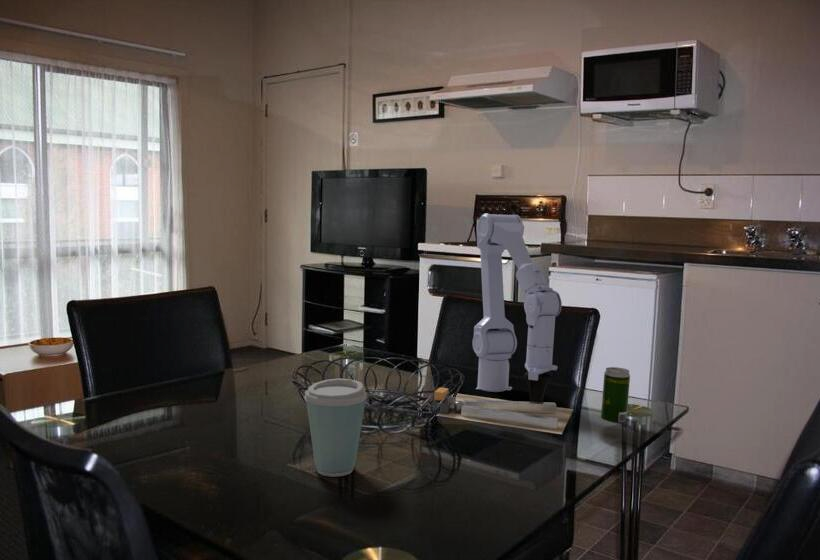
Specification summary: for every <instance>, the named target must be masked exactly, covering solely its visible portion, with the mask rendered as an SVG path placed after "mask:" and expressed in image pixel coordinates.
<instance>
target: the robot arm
mask: <svg viewBox="0 0 820 560" xmlns="http://www.w3.org/2000/svg"><path fill="white" fill-rule="evenodd" d="M524 233H525V225H524V223H523V220H522V218H521V217H520V216H519V215H518V214H494V213H493V214H491V213H483V214H482V215H481V216H480V217H479V220H478V221H477V224H476V245H477V248H478V249H479V250H480V251H479V253H480V270H481V292H482V308H483V309H482V310H483V318H482V319H481V320H479V322H477V324H475V325H474V326H473V338H472V341H471V342H472V349H473V351H474V353H475V354H476V357H478V369H477V371H478V373H477V385H476V386H477V387H476V388H475V390H481V391H485V392H491V393H492V392H493V393H499V392H504V391H511V390H512V389H513V387H512V386H509V377H510V376H509V375H510V362H509V359H512V355H513V354H514V353H515V352H516V350H517V347H518V340H517V337H516V334H515V328H514V324H513V323H512V322H510V320H508V319H507V318H506V314H505V297H504V296H505V294H504V277H503V276H504V275H503V272H504V271H503V256H502V255H503V253H504V251H506V250H507V252H508V254H509V255H510V258H511V259H512V261H513V262H514V264H515V266H516V268H517V270H516V273H515V277H516V280H517V282H518V284H519V286H520V288H521V291H522V294H523V295H524V297H525V298H524V299H525V301H524V302H523V308H524V312H525V315H526V318H525V320H526V324H527V325H528V328H527V343H526V344H527V345H526V357H525V358H526V359H525V363H524V368H525V369H526V370H527V371H526V372H525V373H524V375H523V376H524V380H525V382H526V384H527V388H528V393H529V400H530V401H529V402H544V401H543V400H544V396H545V393H546V390H547V389H546V388H547V386H548V383H549V381H550V379H551V377H552V376H553V373H552V372H550V371H557V370H558V365H555V364H553V356H554V355H553V352H554V341H555V326H556V325H555V324H556V317H559V315H560V313H561V311H562V299H561V295H560V293H559V292H558V291H556V290H554V289H553V288H552V287H550V286H549V284H548V282H547V280H546V278H545V275H544V274H543V271H542V270H541V267H540V266H539V265H538V264H536V263H533V261H532V258H531V256H530V253H529V251H528V249H527V246H526V243H525V240H524V238H523V237H524ZM492 329H496V330H492ZM497 329H498V330H497Z"/></svg>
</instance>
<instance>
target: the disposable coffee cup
mask: <svg viewBox="0 0 820 560" xmlns="http://www.w3.org/2000/svg"><path fill="white" fill-rule="evenodd" d="M367 395H368V394H367V392H366V391H365V387H364V384H363V383H362V381H358V380H355V379H349V378H331V379H324V380H322V381H321V380H320V381H317V382H314V383H313V384H311V385H310V386H308V387H307V390H305V392H304V396H303V397H304V401H305V402H306V408H307V415H308V422H309V429H310V430H309V432H310V436H311V437H310V438H311V446H312V451H313V460H314V465H315V466H314V467H315V469H316V472H317V474H318V475H319V474H320V475H322V476H325V477H331V478H333V477H334V478H335V477H343V476H347V475H350V474H351V473H352V472H353V471H354V469H355V466H356V462H357V457H358V449H359V444H360V437H361V431H362V423H363V419H364V412H365V406H366V400H367V399H368V396H367Z"/></svg>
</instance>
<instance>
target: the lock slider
mask: <svg viewBox="0 0 820 560" xmlns="http://www.w3.org/2000/svg"><path fill="white" fill-rule="evenodd" d="M447 393H448V394H449V388H447V387H438V388H437V389H436V390H435V391H434V394H433V397H434V398H433V401H434V400H440V401H441V400H442V399H443V398H444V397H445V396H446V394H447ZM448 396H449V395H448ZM448 396H447V397H448ZM447 397H446V398H447ZM446 398H445V399H446ZM445 399H444V400H445Z"/></svg>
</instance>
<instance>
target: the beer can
mask: <svg viewBox="0 0 820 560" xmlns="http://www.w3.org/2000/svg"><path fill="white" fill-rule="evenodd" d="M630 381H631V374H630V370H629V369H627V368H622V367H618V366H617V367H615V366H610V367H606V368H605V371H604V375H603V383H602V384H603V387H602V399H601V411H600V412H601V415H600V418H601V419H602V420H605V421H608V422H611V423H625V422H627V418H628V408H629V395H630Z"/></svg>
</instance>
